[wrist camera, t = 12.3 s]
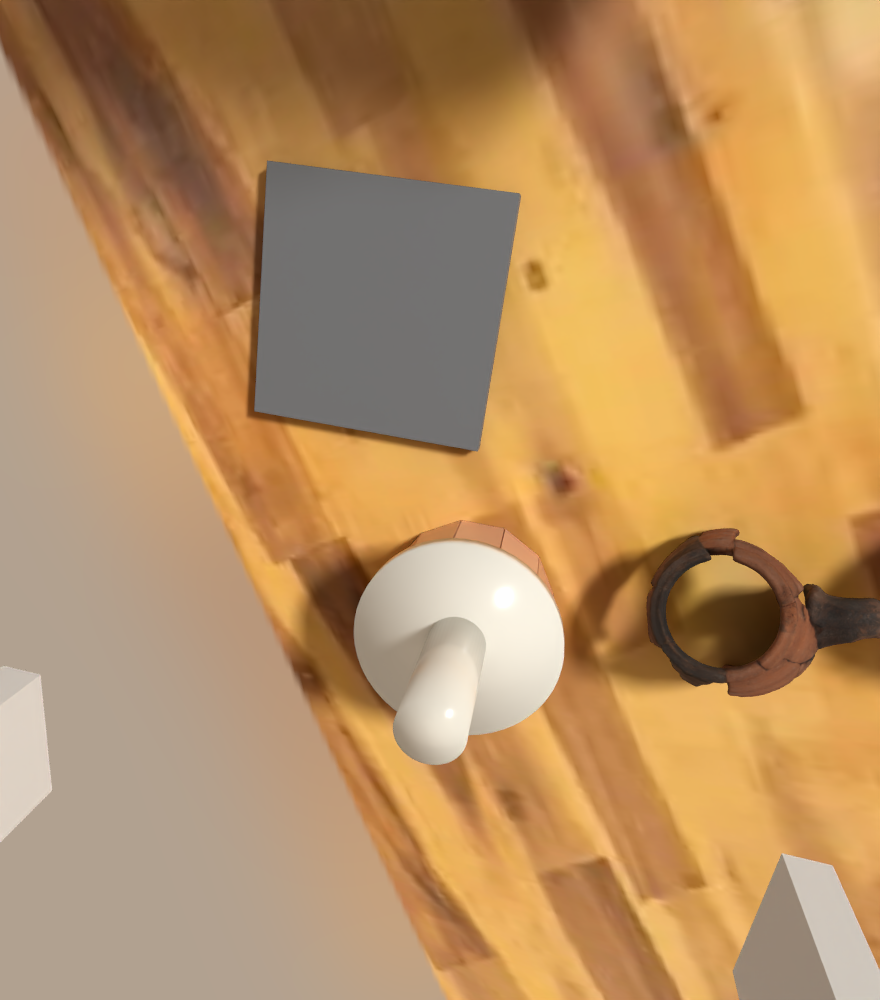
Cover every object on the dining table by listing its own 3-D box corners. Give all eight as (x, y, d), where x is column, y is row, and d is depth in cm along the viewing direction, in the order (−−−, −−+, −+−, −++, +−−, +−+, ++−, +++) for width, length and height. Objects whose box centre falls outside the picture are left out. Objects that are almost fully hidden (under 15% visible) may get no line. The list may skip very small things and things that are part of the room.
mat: (274, 164, 37) (267, 160, 36) (520, 196, 35) (519, 193, 34) (261, 408, 41) (254, 411, 40) (479, 447, 39) (477, 451, 38)
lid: (371, 518, 37) (315, 584, 28) (585, 563, 35) (594, 647, 27) (348, 698, 40) (292, 804, 32) (540, 745, 39) (535, 869, 30)
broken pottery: (679, 688, 42) (649, 710, 35) (654, 545, 44) (620, 538, 37) (900, 677, 37) (917, 700, 30) (860, 512, 38) (868, 497, 31)
